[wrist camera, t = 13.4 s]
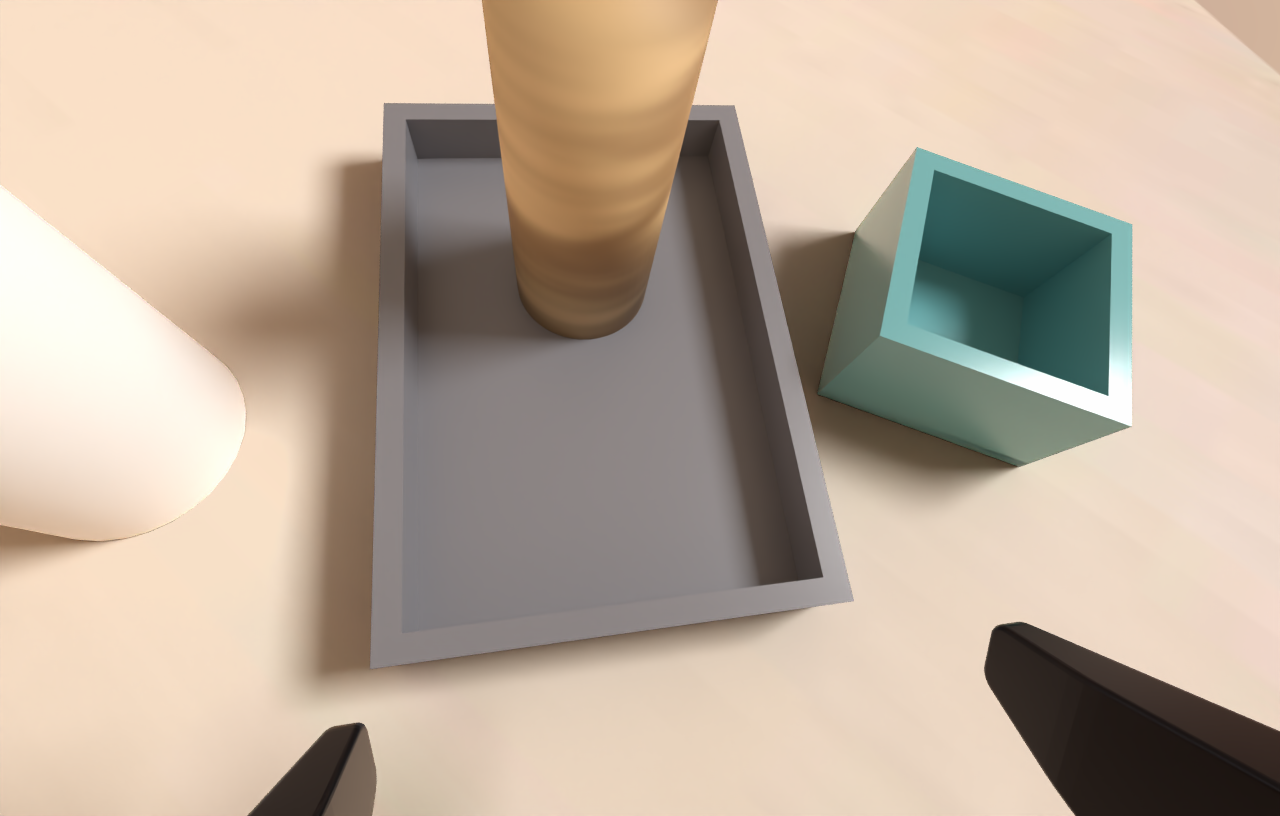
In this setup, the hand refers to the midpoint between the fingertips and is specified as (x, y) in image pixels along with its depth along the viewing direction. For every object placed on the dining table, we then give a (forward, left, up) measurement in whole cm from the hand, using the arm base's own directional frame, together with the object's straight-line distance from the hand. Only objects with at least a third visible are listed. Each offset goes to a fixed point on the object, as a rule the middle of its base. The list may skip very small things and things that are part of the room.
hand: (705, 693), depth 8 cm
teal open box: (+17, +5, -12) cm, 22 cm away
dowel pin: (+5, +13, -11) cm, 18 cm away
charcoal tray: (+4, +10, -12) cm, 16 cm away
